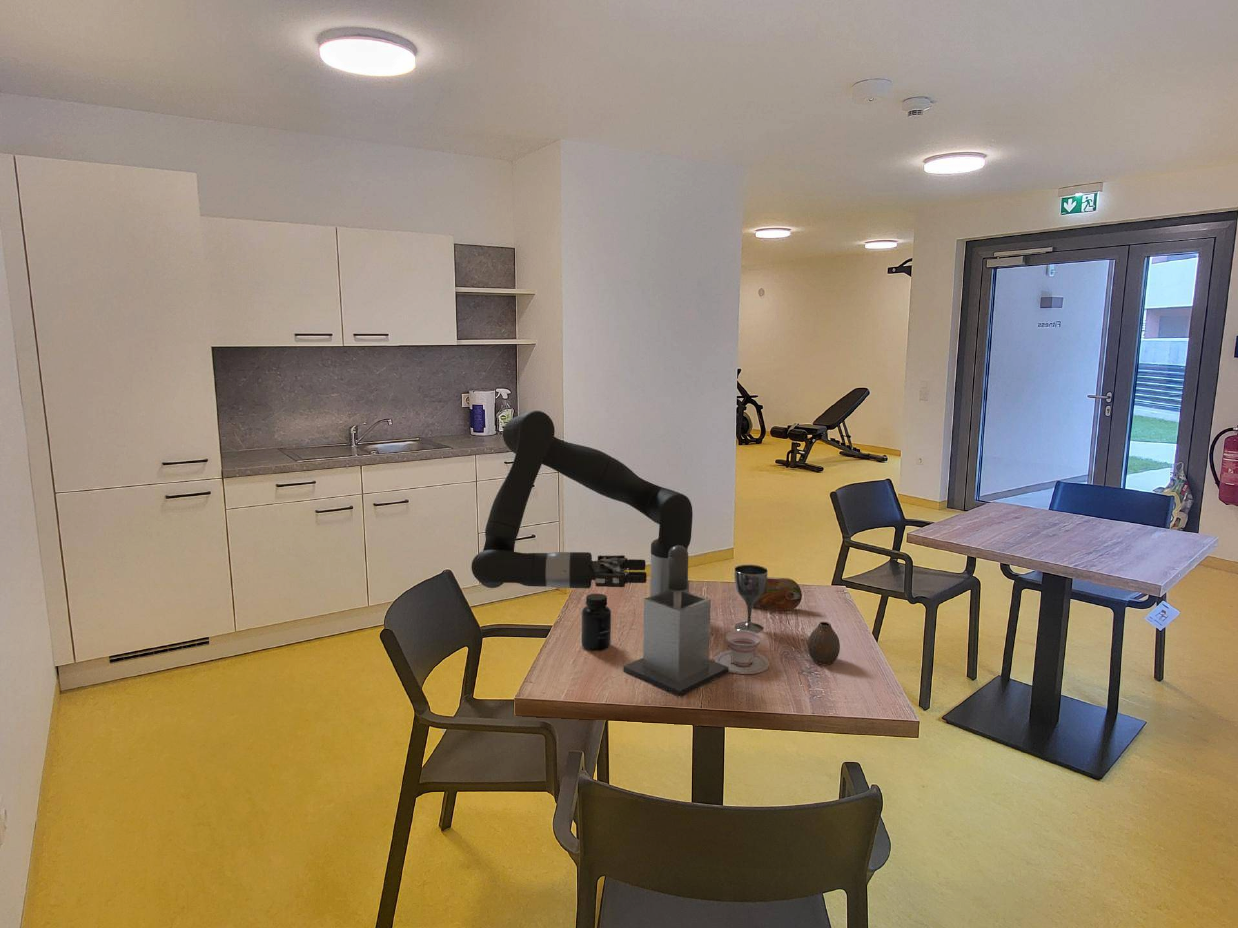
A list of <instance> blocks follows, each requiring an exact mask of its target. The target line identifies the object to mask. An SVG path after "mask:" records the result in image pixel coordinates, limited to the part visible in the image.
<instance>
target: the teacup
mask: <svg viewBox="0 0 1238 928" xmlns="http://www.w3.org/2000/svg"><path fill="white" fill-rule="evenodd" d="M725 641H726V642H727V644H728V647H729V649H730V650H725V651H722V652H719V653H717V655H715V657H714V662H717V663H719V664H722V665H725V666H727V667H729V672H728V673H733V674H737V675H754V674H760V673H762V672H764V671H767V669H768V668H769V667H770V661H769V660H768V658H767V657H766V656H764V655H762V654H761V653H758V652H756V650H757V649H758V646H759V645H760V644H761V643H762V637H761V635H759V634H758V633H755V632H752V631H748V630H736V629H735V630H732V631H730V632H728V633H727V634H726V635H725ZM732 662H734V664H733V663H732ZM751 663H752V664H751Z"/></svg>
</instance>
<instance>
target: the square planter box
mask: <svg viewBox="0 0 1238 928" xmlns="http://www.w3.org/2000/svg"><path fill="white" fill-rule="evenodd" d="M711 605H712V600H711V598H708V597H704V596H702V595H698V594H696V593H692V592H690V591H689V592H686V591H683V590H682V591H681V609H678V608H675V607H674V590H668V591H665V592H662V593H659V594H656V595H654V596H651V597H650V596H648V597H645V598H643V640H642V641H643V645H642V646H643V647H642V648H643V649H642V651H643V654H642V655H643V656H642V657H641V658H639V659H637V660H635V661H633V662H630V663H628V664H626V665H623V669H622V670H623V672H624V673H626V674H628V675H631V676H633V677H635V678H637V679H639V680H642V681H644V682H646V683H648V684H651V685H653V686H655V687H658V688H659V689H661V690H664V691H666V692H669V693H671V694H673V695H675V696H677V697H679V696H680V697H682V696H684V695H686V694H688V693H690V692H693V691H694V690H696V689H698V688H700V687H702V686H705V685H706V684H709V683H711V682H712V681H714V680H716V679H718V678H720V677H723V676H724V675H726V674H728V673H730V672H729V667H727V666H725V665H722V664H719V663H717V662H714V661H715V660H714V661H713V660H712V659H710V648H711V647H710V643H711V642H710V641H711V639H710V638H711V613H712V610H711V608H712V606H711Z"/></svg>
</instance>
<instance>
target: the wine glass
mask: <svg viewBox="0 0 1238 928" xmlns="http://www.w3.org/2000/svg"><path fill="white" fill-rule="evenodd" d="M767 577H768V569H767V567H764V566H761V565H757V564H740V565H737V566H735V568H734V584H735V589H736V591H737V593H738V595H739V596H740V597H741V598H742V600H743V601H744V603H745V605H746V609H747V611H746V612H747V621H742V622H741V621H740V622H737V623H735V624H734V626H733V628H734V629H735V631H736V630H748V631H752V632H755V633H757V634H758V633H761V632H762V631H764V627H763V625H762V624H759V623H756V622H752V621H751V620H752V611H753V607H752V606H753V604H754V603H755V601H756V600H757V599H758V598H759V597H760V596H761V595H762V594H763V593H764V590H765V587H766V583H767Z"/></svg>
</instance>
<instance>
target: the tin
mask: <svg viewBox="0 0 1238 928" xmlns="http://www.w3.org/2000/svg"><path fill="white" fill-rule="evenodd" d="M802 597H803V594H802V590H801V587H800V584H798V583H797V582H796V580H793V579H791V578H789V577H773V576H771V577H769V576H767V583H766V587H765V590H764V593H763V594H762V595H761V596H760V597H759V598H758V599H757V600H756V601H755V603H754V604H753V606H752V608H755V609H759V610H773V611H775V610H776V611H783V612H784V611H792V610H794V609H796V608H797V607H798V606H799V605H800V604H801V601H802V600H803V599H802Z"/></svg>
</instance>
